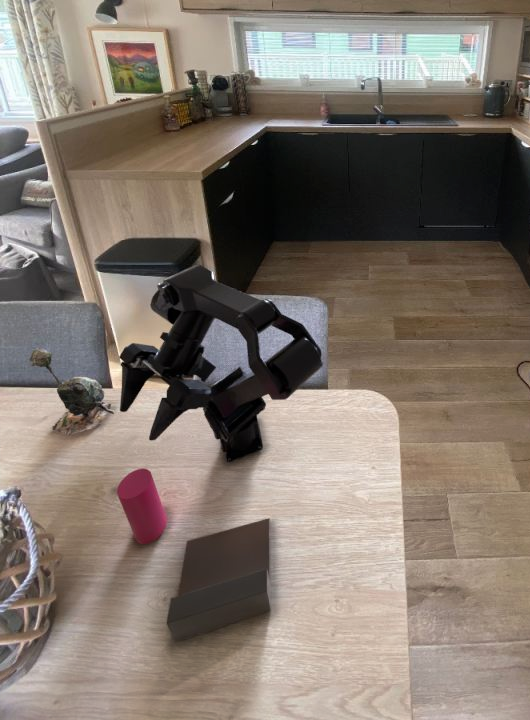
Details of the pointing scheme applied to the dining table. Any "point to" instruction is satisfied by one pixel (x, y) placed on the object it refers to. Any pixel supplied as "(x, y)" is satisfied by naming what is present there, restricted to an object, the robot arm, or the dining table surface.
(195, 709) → the dining table surface
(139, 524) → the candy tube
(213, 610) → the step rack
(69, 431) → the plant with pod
